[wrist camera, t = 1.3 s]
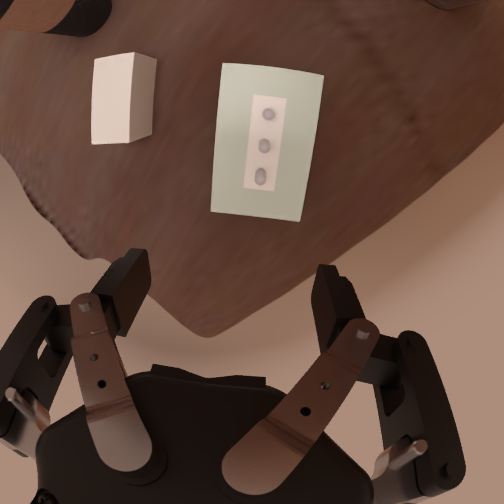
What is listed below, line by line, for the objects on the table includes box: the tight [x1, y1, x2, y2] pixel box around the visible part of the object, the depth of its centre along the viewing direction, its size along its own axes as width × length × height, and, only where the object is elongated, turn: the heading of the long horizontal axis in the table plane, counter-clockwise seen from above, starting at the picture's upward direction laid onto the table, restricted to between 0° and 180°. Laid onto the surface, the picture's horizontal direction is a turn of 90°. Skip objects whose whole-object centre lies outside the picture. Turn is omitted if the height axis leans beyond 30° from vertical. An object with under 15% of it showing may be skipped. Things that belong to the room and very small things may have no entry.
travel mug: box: [0, 0, 111, 37], centre depth 12 cm, size 8×8×20 cm
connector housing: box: [91, 52, 157, 144], centre depth 25 cm, size 10×5×6 cm, turn 174°
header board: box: [211, 63, 324, 222], centre depth 28 cm, size 18×11×5 cm, turn 174°
